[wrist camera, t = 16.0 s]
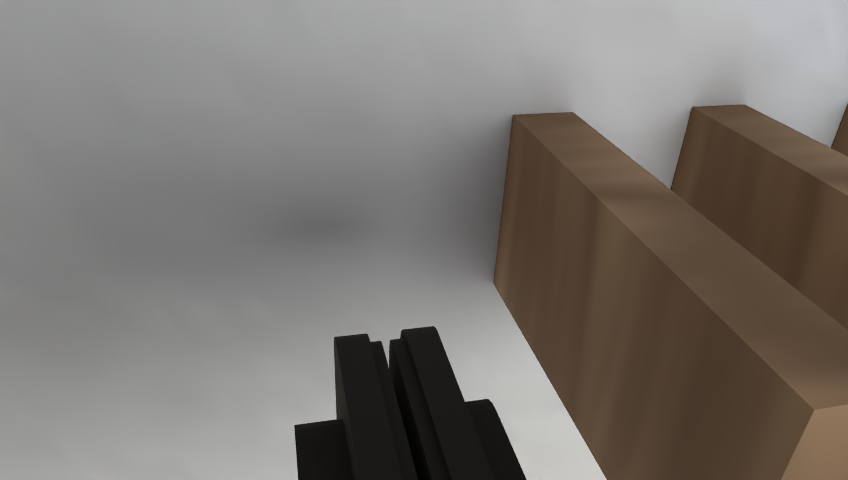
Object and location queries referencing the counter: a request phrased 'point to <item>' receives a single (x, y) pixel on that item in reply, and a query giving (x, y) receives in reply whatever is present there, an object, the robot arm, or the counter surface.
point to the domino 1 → (662, 321)
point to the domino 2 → (772, 197)
